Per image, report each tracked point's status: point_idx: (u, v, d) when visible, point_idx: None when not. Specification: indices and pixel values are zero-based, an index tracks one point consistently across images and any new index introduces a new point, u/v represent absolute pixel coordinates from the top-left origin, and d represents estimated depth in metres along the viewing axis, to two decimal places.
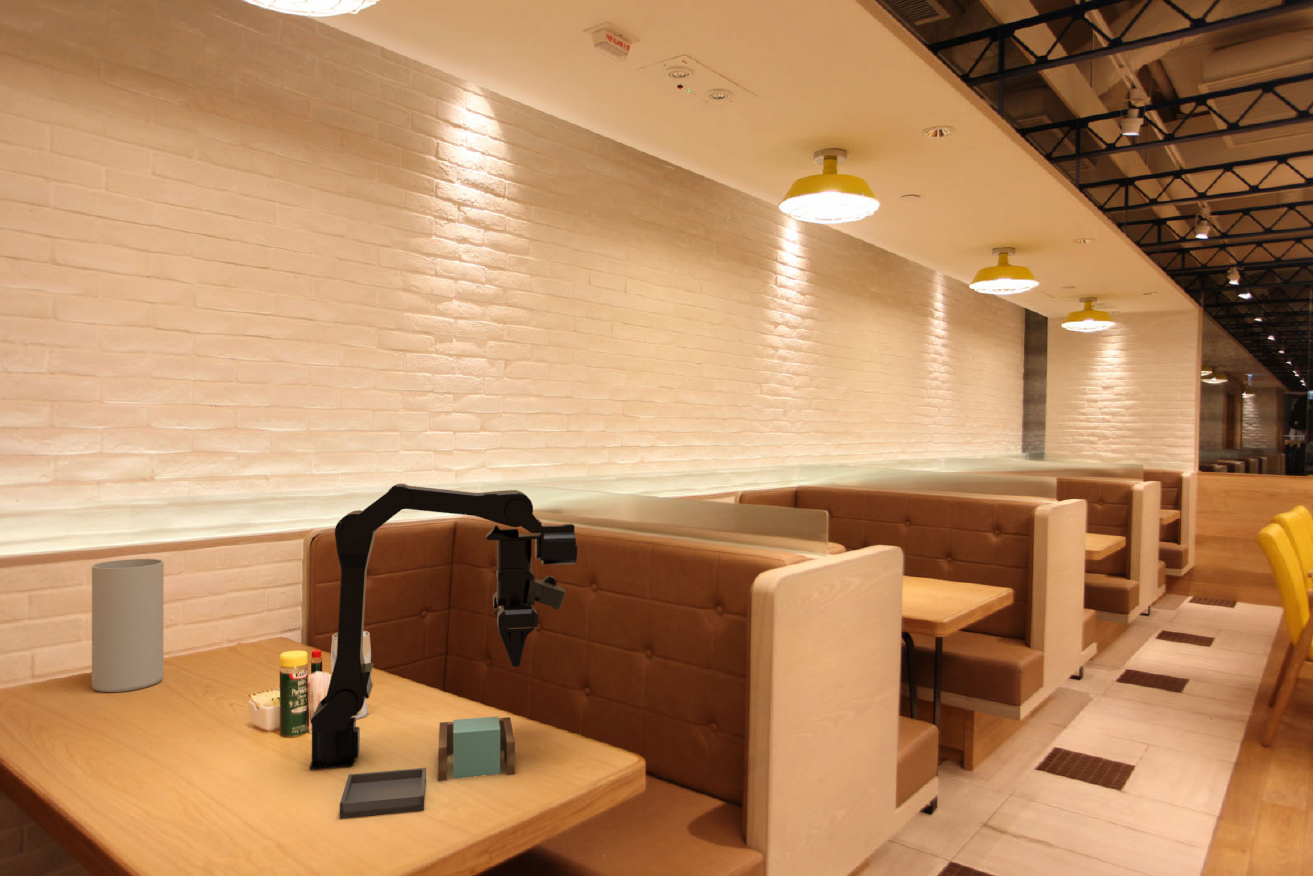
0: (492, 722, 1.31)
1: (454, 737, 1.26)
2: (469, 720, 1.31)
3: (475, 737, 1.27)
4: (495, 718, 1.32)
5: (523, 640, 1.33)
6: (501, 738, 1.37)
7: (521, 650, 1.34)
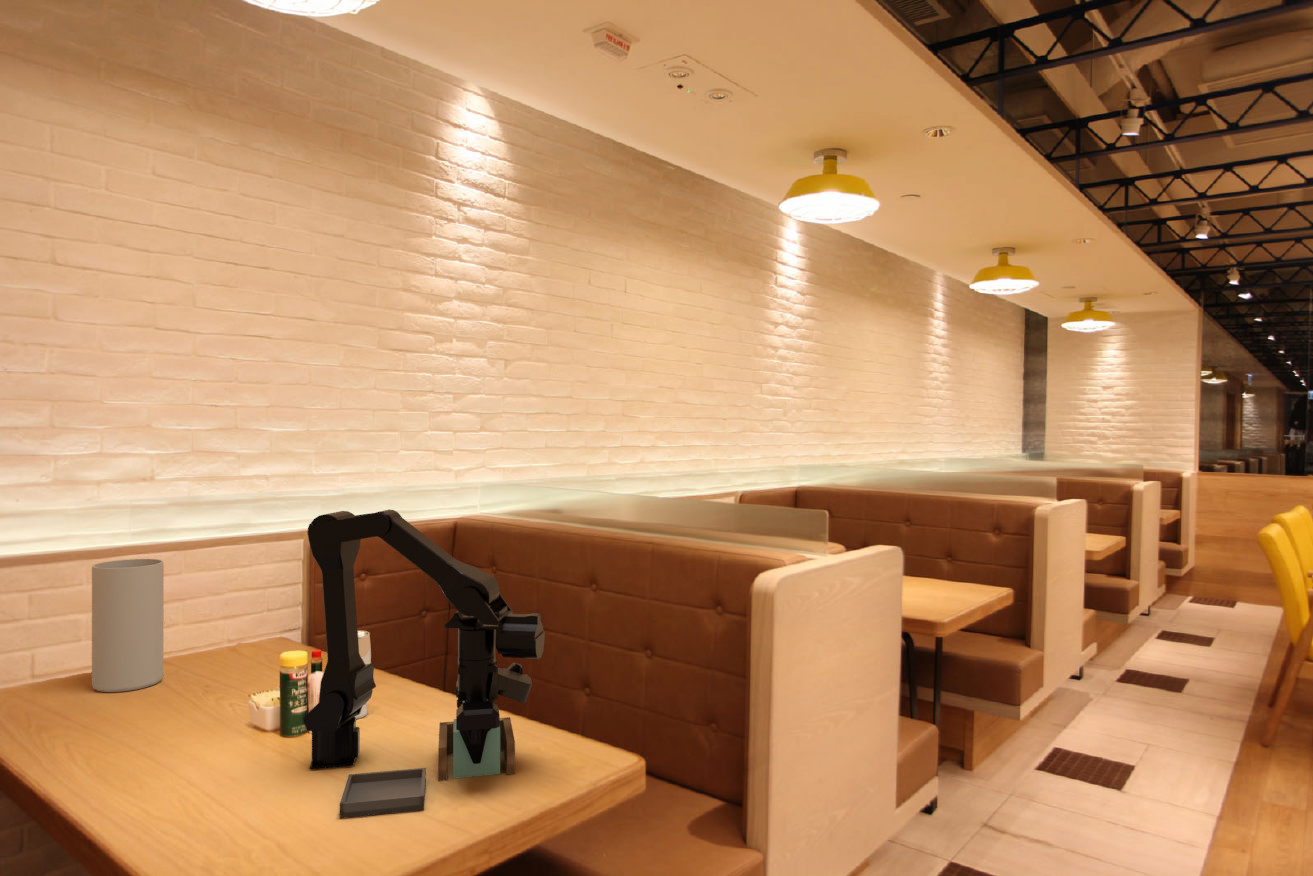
0: None
1: (454, 736, 1.26)
2: None
3: None
4: None
5: (484, 736, 1.25)
6: (501, 738, 1.37)
7: (482, 747, 1.26)
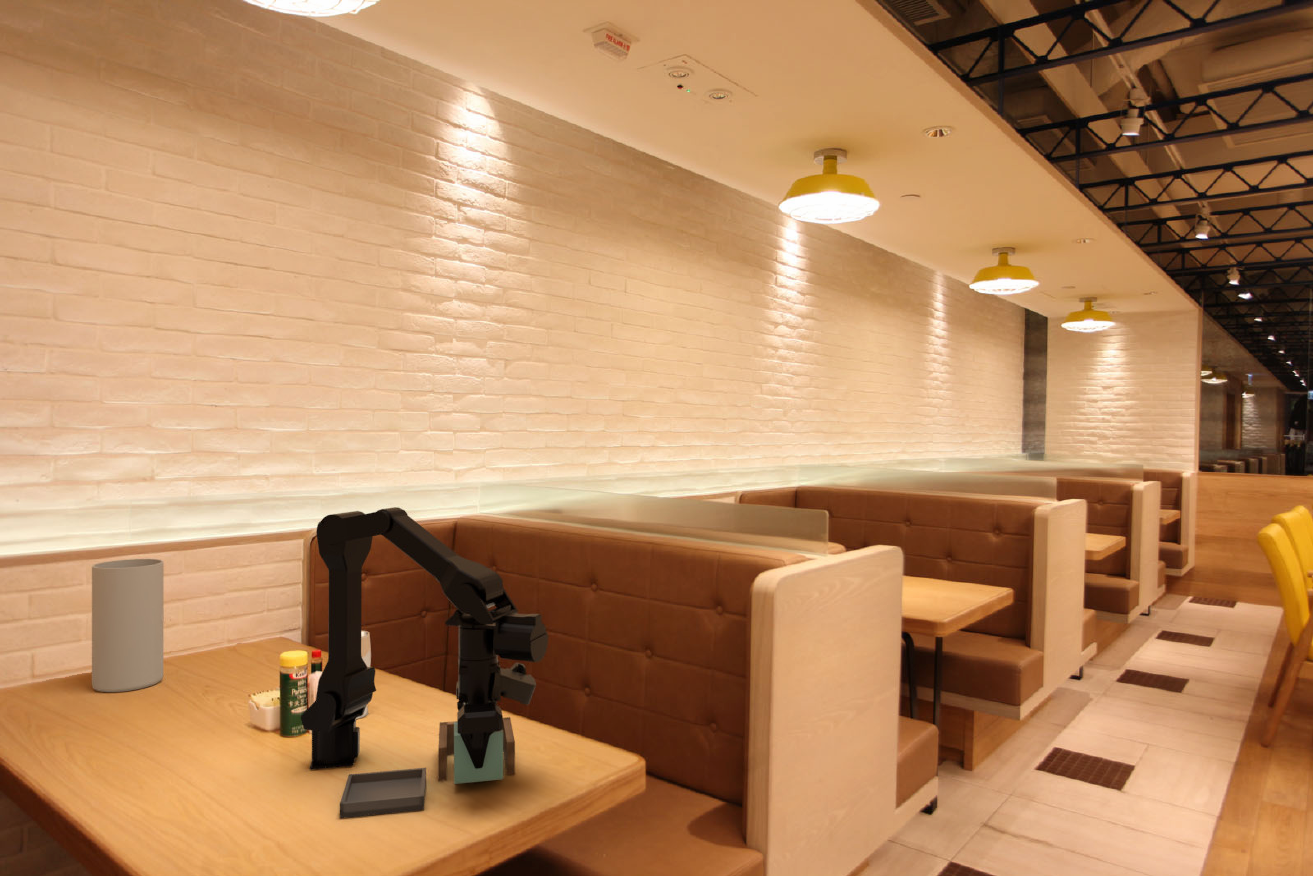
0: None
1: (455, 740, 1.20)
2: None
3: None
4: None
5: (486, 740, 1.20)
6: None
7: (484, 751, 1.20)
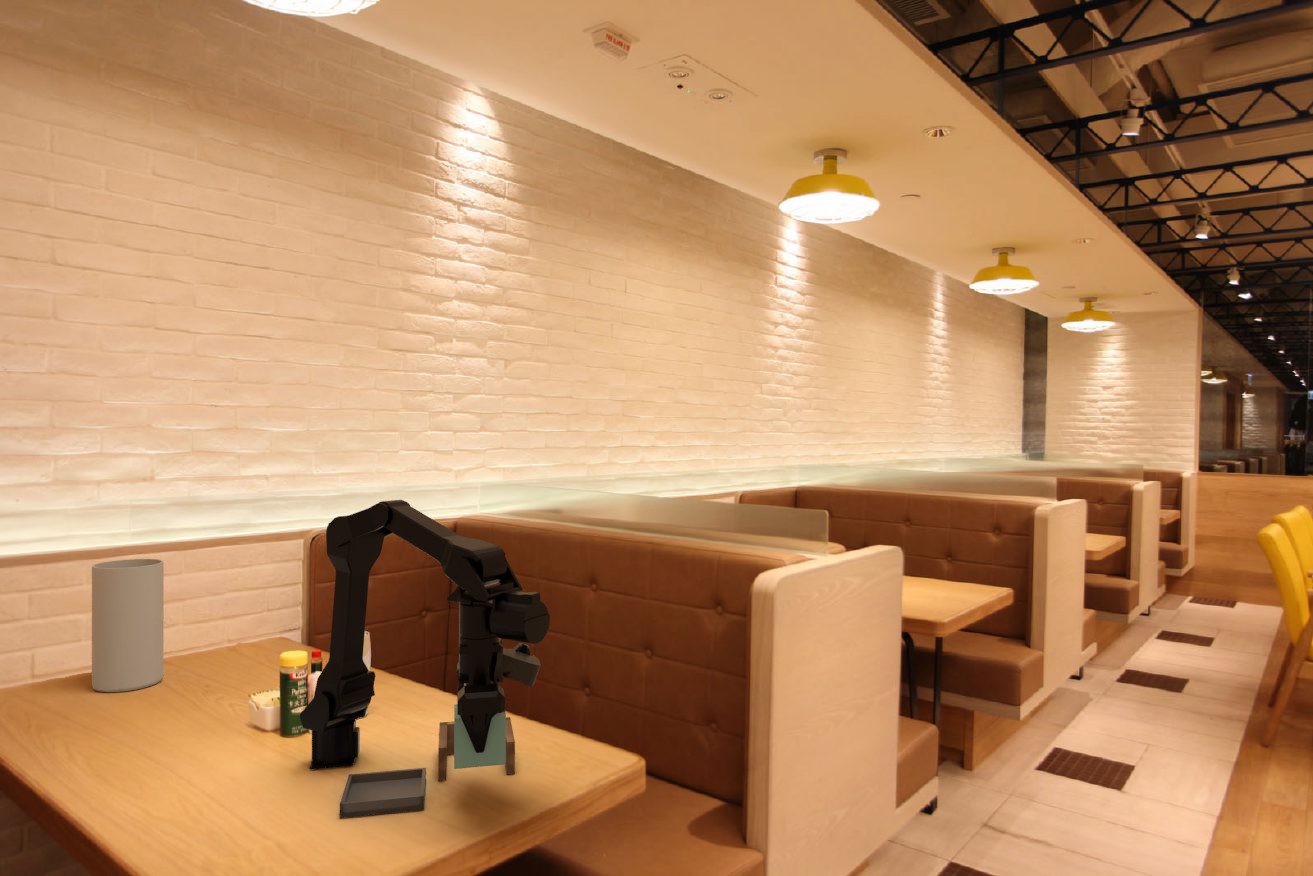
0: None
1: (455, 723, 1.14)
2: None
3: None
4: None
5: (488, 722, 1.14)
6: None
7: (486, 734, 1.14)
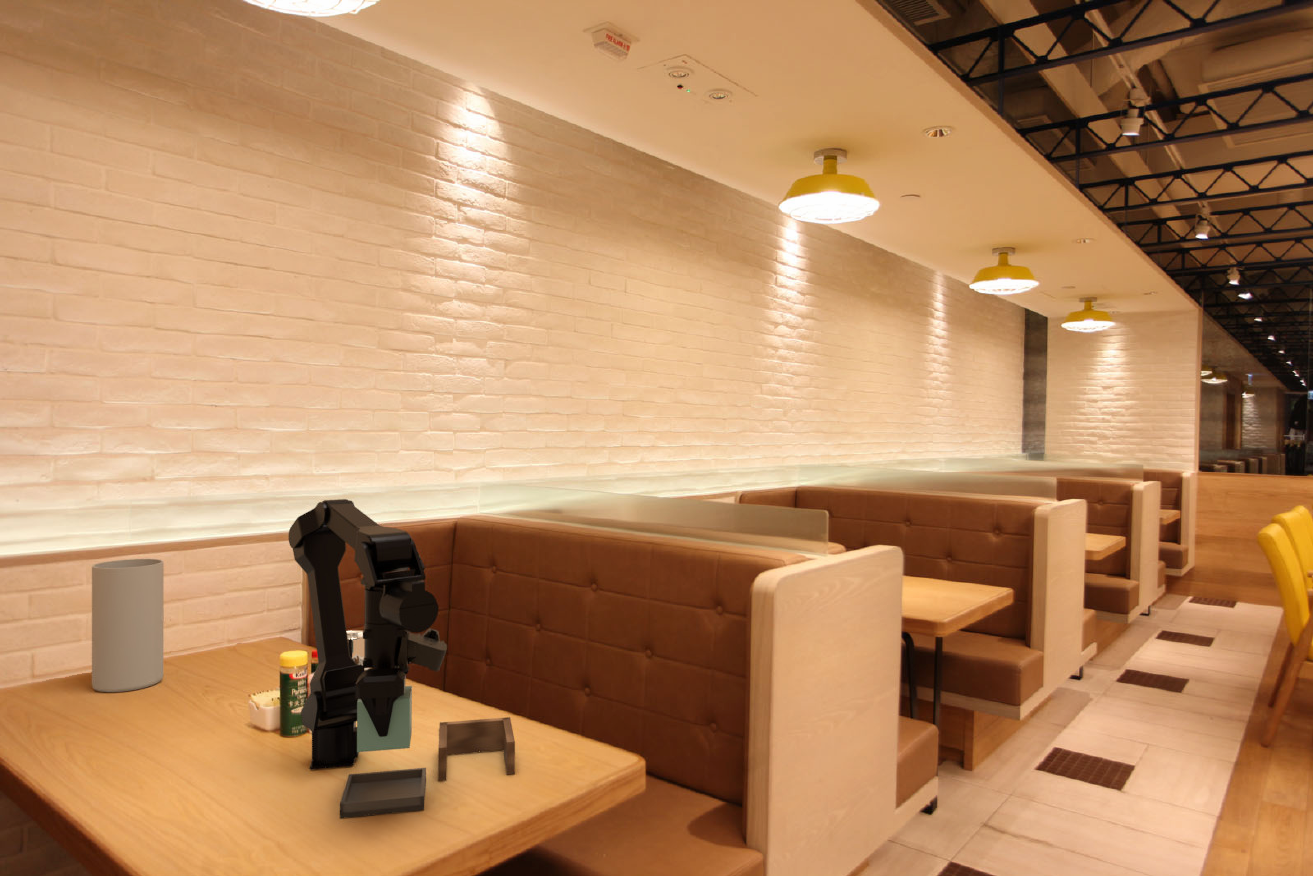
0: None
1: (358, 706, 1.15)
2: None
3: None
4: (408, 687, 1.22)
5: (390, 707, 1.14)
6: (501, 738, 1.37)
7: (388, 718, 1.15)
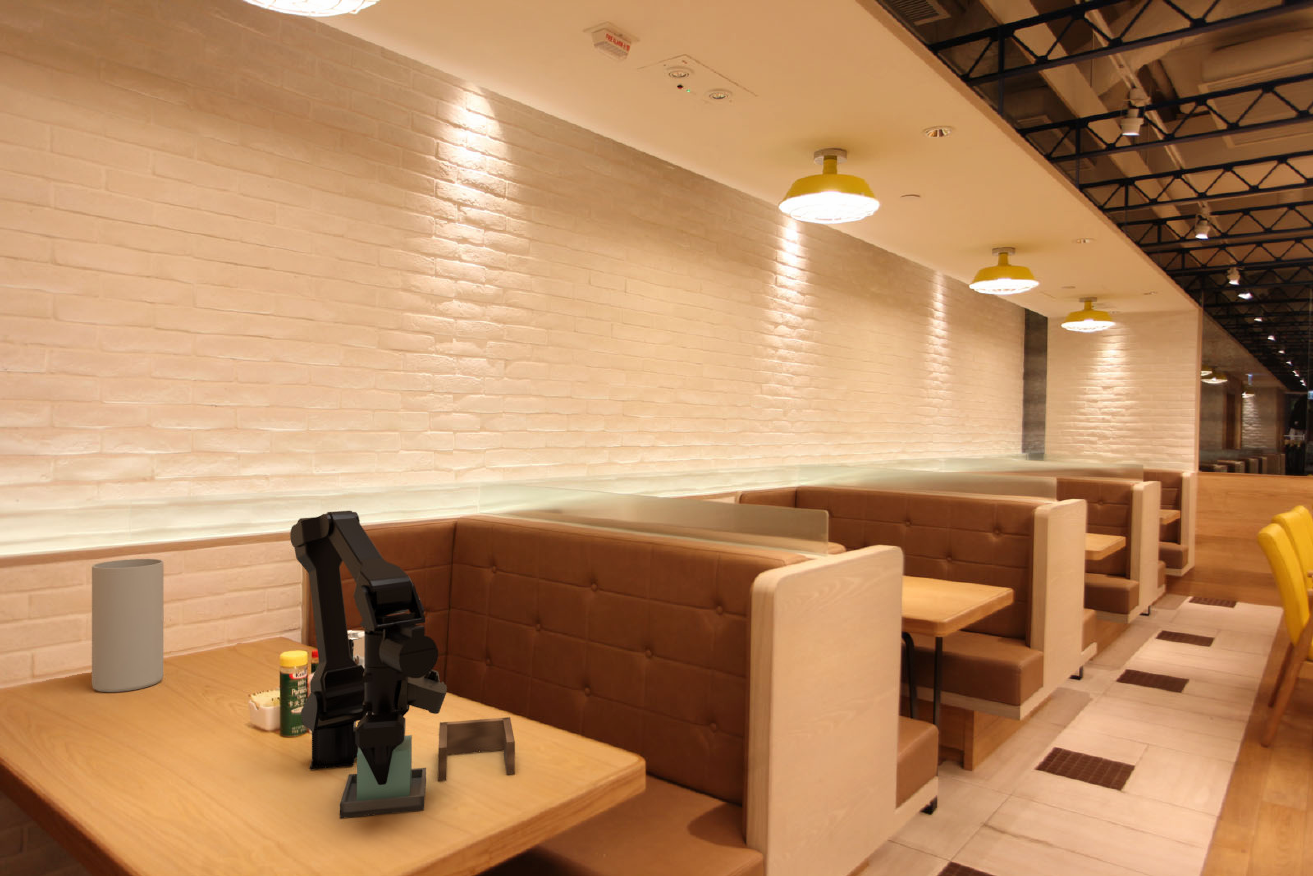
0: (403, 742, 1.20)
1: (358, 759, 1.15)
2: None
3: None
4: (408, 737, 1.22)
5: (389, 755, 1.13)
6: (501, 738, 1.37)
7: (387, 766, 1.14)
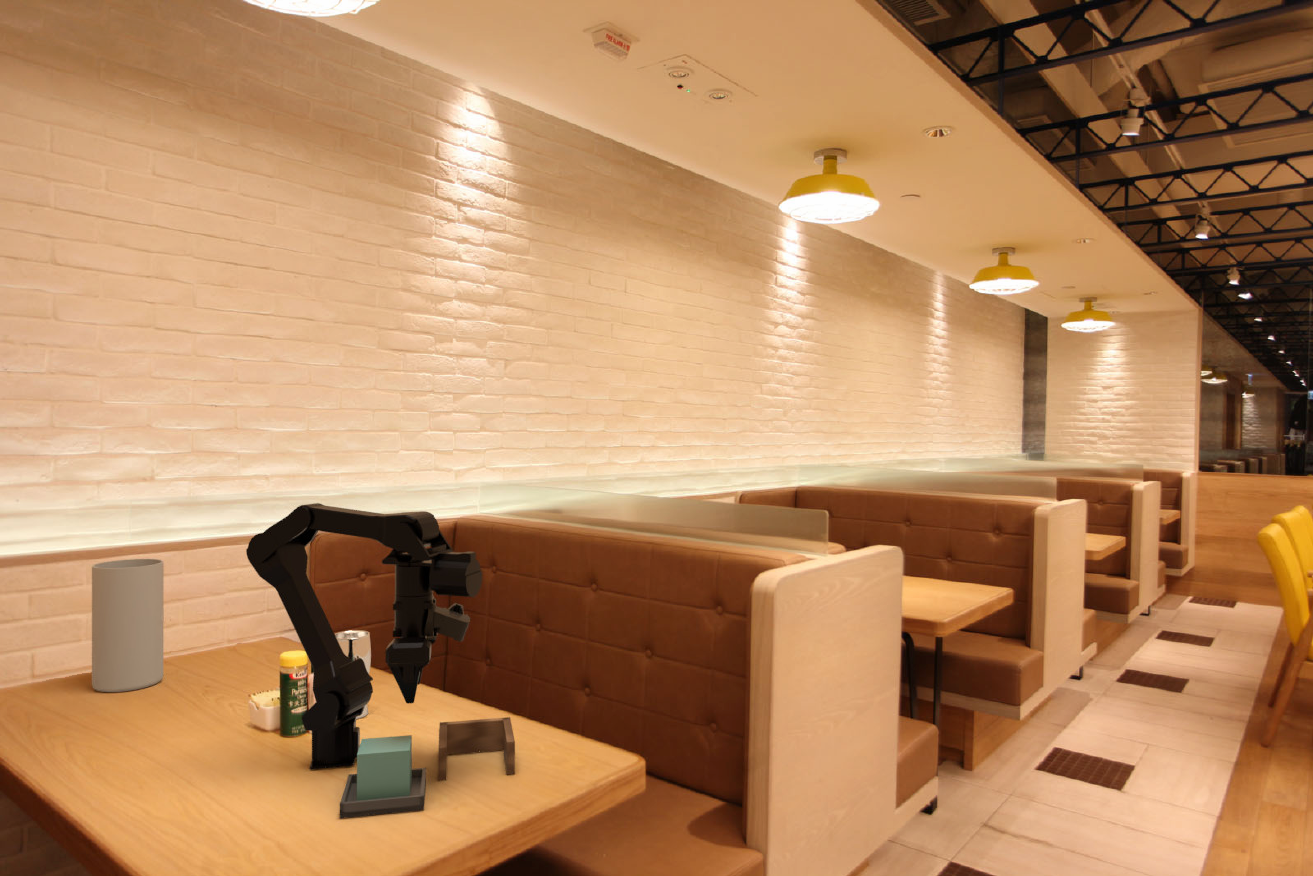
0: (403, 742, 1.20)
1: (358, 759, 1.15)
2: (378, 739, 1.21)
3: (381, 759, 1.16)
4: (408, 737, 1.22)
5: (416, 675, 1.23)
6: (501, 738, 1.37)
7: (415, 686, 1.24)
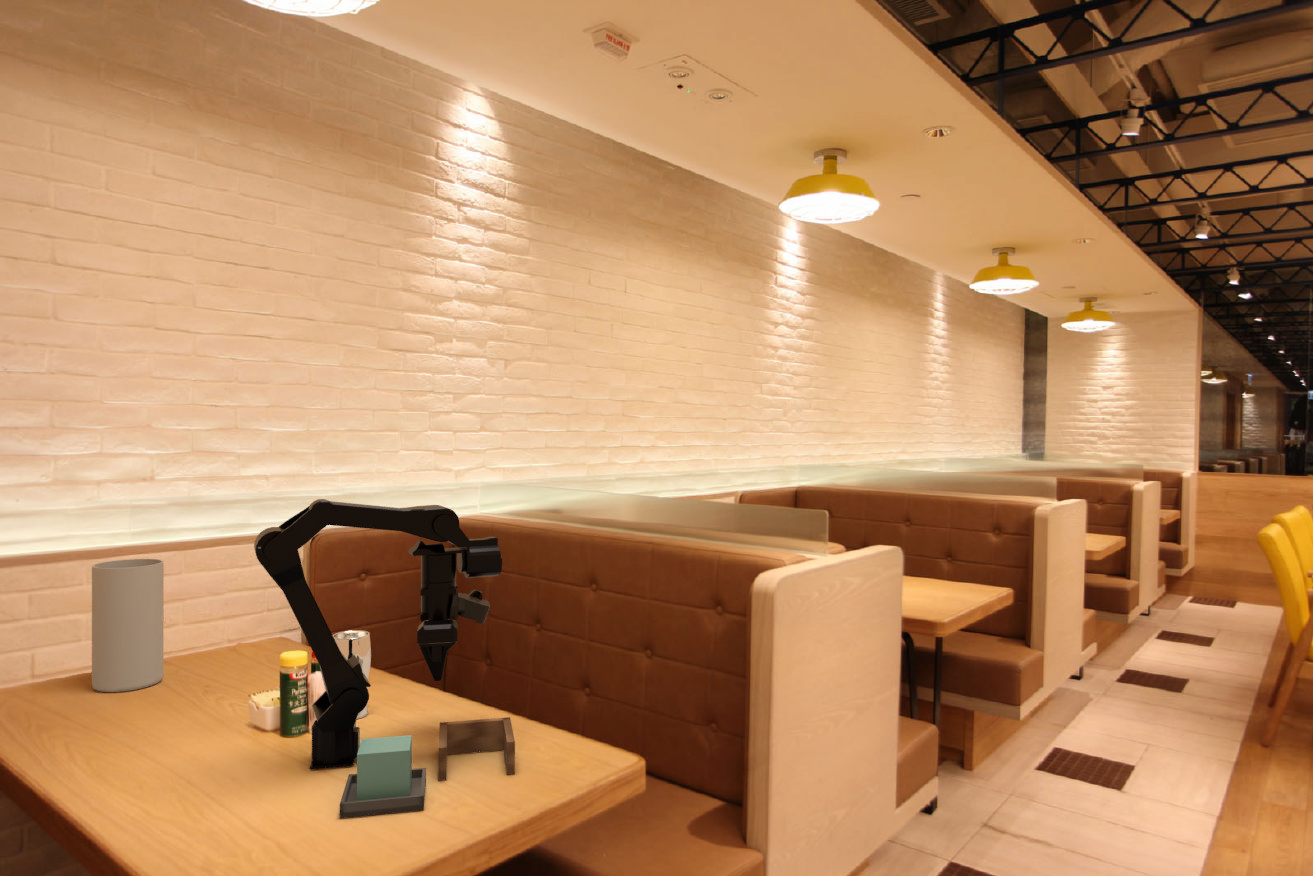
0: (403, 742, 1.20)
1: (358, 759, 1.15)
2: (378, 739, 1.21)
3: (381, 759, 1.16)
4: (408, 737, 1.22)
5: (444, 655, 1.34)
6: (501, 738, 1.37)
7: (442, 665, 1.35)
